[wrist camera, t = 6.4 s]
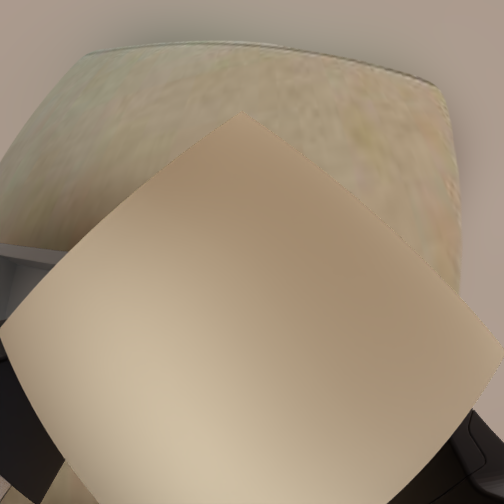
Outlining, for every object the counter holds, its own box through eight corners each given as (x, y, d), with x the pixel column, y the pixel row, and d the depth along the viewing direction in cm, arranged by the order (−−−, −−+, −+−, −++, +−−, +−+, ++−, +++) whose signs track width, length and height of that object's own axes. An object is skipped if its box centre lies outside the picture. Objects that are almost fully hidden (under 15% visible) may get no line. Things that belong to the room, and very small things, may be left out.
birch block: (260, 440, 12) (217, 604, 2) (186, 361, 14) (-3, 331, 3) (342, 366, 13) (506, 352, 3) (266, 290, 15) (241, 111, 4)
